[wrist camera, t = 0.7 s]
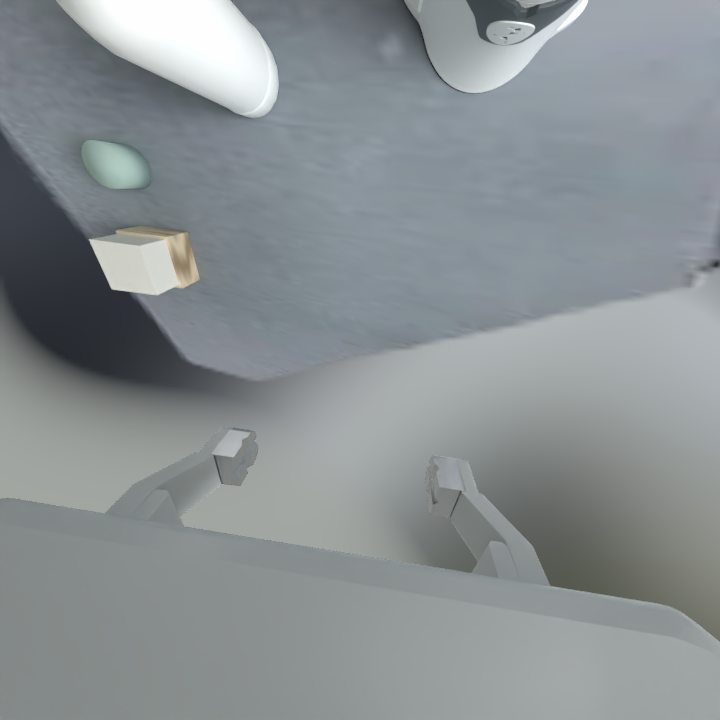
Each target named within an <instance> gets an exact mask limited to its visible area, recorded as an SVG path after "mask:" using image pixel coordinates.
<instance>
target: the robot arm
mask: <svg viewBox="0 0 720 720" xmlns="http://www.w3.org/2000/svg"><path fill="white" fill-rule="evenodd" d="M404 1H405V3H406V5H407V7H408V9H409V10H410V12H411V13H412V14H413V16H414V17H415V18H416V20H417V21H418V22H419V25H420V27H421V30H422V33H423V37H424V41H425V45H426V49H427V52H428V55H429V58H430V60H431V62H432V64H433V66H434V68H435V70H436V71H437V73H438V74H439V75H440V76H441V78H442V79H443V80H444V81H445V82H446V83H448V84H449V85H450V86H452V87H453V88H455V89H457V90H460V91H463V92H468V93H481V92H486V91H489V90H492V89H495V88H497V87H499V86H501V85H503V84H504V83H506V82H508V81H509V80H511V79H512V78H513V77H514V76H516V75H517V74H518V73H519V72H520V71H521V70H522V69H523V68H524V67H525V66H526V65H527V64H528V63H529V62H530V61H531V59H532V58H533V57H534V56H535V54H536V53H537V52H538V51H539V50H540V48H541V47H542V46H543V45H544V44H545V43H546V42H547V41H548V40H549V39H550V38H551V37H553V36H554V35H556V34H557V33H559V32H560V31H562V30H563V29H565V28H566V27H568V26H569V25H570V24H571V23H572V22H574V21H575V20H576V18H577V17H578V16H579V15H580V14H581V13H582V11H583V10H584V8H585V7H586V5H587V2H588V0H404ZM255 438H256V433H255V431H250V430H244V429H238V428H231V427H225V426H222V427H221V428H219V429H218V430H217V432H216V433H215V434H214V435H213V436H212V437H211V439H210V440H209V441H208V442H207V443H206V445H205V446H204V447H203V448H202V449H201V450H200V452H199V453H193V454H191V455H189V456H187V457H185V458H183V459H182V460H180V461H178V462H176V463H174V464H172V465H170V466H168V467H166V468H164V469H162V470H160V471H158V472H156V473H154V474H152V475H151V476H148V477H147V478H145V479H143V480H141V481H139V482H137V483H135V484H133V485H132V486H131V487H130V488H129V490H127V491H126V493H124V494H123V495H122V496H121V497H120V499H119V500H117V501H116V503H114V505H112V506H111V507H110V509H109V510H108V511H107V512H105V513H98V512H92V511H86V510H80V509H74V508H68V507H62V506H56V505H50V504H44V503H37V502H32V501H26V500H20V499H13V498H2V499H0V720H720V642H719V641H718V640H717V639H715V638H714V637H713V636H712V635H710V634H709V633H708V632H707V631H705V630H704V629H703V628H702V627H701V626H699V625H698V624H697V623H695V622H694V621H693V620H691V619H690V618H689V617H687V616H686V615H685V614H683V613H682V612H680V611H678V610H676V609H674V608H672V607H669V606H666V605H661V604H656V603H650V602H644V601H638V600H632V599H626V598H620V597H613V596H607V595H601V594H595V593H588V592H583V591H577V590H570V589H564V588H558V587H552V586H550V585H549V582H548V580H547V578H546V576H545V573H544V571H543V569H542V566H541V564H540V562H539V560H538V557H537V555H536V553H535V551H534V548H533V546H532V545H531V544H530V543H529V542H528V541H527V540H526V539H525V538H524V537H523V536H522V535H521V534H520V533H519V532H518V531H517V530H516V529H515V528H514V527H513V525H512V524H511V523H509V522H508V520H507V519H506V518H505V517H504V516H503V515H502V514H501V513H500V512H499V511H498V510H497V509H496V508H495V507H494V506H493V505H492V504H491V503H490V502H489V501H488V500H487V499H486V498H485V497H484V496H483V494H479V493H478V491H477V487H476V484H475V482H474V478H473V475H472V472H471V469H470V466H469V463H468V461H467V460H464V459H456V458H455V459H454V458H449V457H441V456H431V458H430V467H429V468H427V472H426V490H427V492H428V493H429V497H428V505H429V513H430V515H434V516H440V517H445V518H450V521H451V522H452V523H453V525H454V527H455V528H456V530H457V531H458V533H459V534H460V536H461V537H462V539H463V540H464V542H465V543H466V544H467V546H468V548H469V549H470V551H471V552H472V554H473V555H474V557H475V558H476V560H477V561H478V563H477V565H476V567H475V568H474V570H473V571H472V573H466V572H460V571H453V570H448V569H442V568H435V567H429V566H423V565H417V564H411V563H405V562H399V561H392V560H386V559H380V558H374V557H368V556H362V555H356V554H350V553H344V552H337V551H331V550H325V549H319V548H313V547H307V546H300V545H294V544H288V543H282V542H276V541H270V540H264V539H257V538H251V537H245V536H239V535H233V534H227V533H221V532H214V531H209V530H202V529H196V528H190V527H184V525H183V523H182V521H181V519H180V516H182V515H183V514H184V513H186V512H187V511H188V510H189V509H191V508H192V507H193V506H195V505H196V504H197V503H199V502H200V501H201V500H203V499H204V498H205V497H206V496H208V495H209V494H210V493H212V492H213V491H214V490H216V489H217V488H218V487H219V486H221V484H227V485H236V486H240V485H241V484H242V482H243V480H244V479H245V477H246V475H247V474H248V472H247V468H248V467H250V466H251V465H253V463H254V461H255V460H256V456H257V453H258V445H257V443H256V442H255V441H254V440H255Z"/></svg>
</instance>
